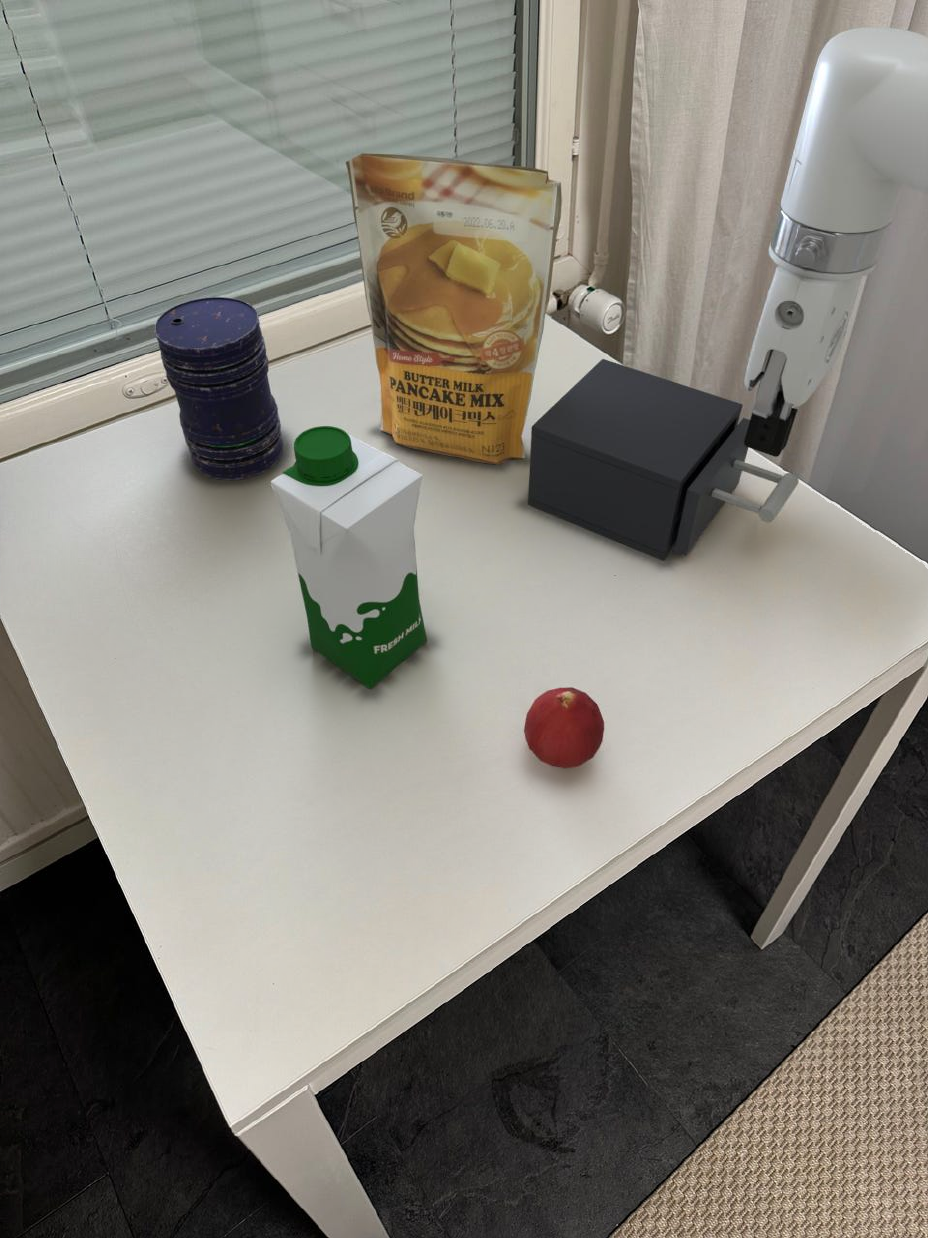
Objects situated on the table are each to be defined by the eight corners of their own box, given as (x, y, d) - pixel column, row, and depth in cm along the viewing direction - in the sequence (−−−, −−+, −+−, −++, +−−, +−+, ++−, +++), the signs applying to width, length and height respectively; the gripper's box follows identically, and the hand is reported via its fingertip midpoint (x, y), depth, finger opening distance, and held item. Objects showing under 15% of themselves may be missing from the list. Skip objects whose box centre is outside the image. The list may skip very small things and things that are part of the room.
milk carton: (368, 592, 80) (344, 402, 66) (443, 641, 76) (435, 449, 61) (295, 648, 76) (251, 458, 61) (371, 703, 72) (343, 513, 57)
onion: (544, 714, 71) (550, 648, 65) (611, 745, 69) (623, 679, 63) (509, 768, 67) (512, 703, 62) (578, 801, 65) (588, 738, 59)
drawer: (796, 505, 86) (818, 442, 81) (747, 582, 79) (767, 518, 74) (616, 439, 94) (624, 377, 88) (556, 504, 87) (561, 441, 81)
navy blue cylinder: (294, 427, 98) (271, 298, 87) (272, 483, 91) (244, 351, 80) (206, 422, 98) (172, 294, 87) (177, 477, 92) (137, 346, 81)
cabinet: (722, 482, 90) (742, 404, 83) (664, 561, 83) (680, 481, 76) (593, 435, 96) (602, 358, 89) (527, 504, 88) (531, 426, 81)
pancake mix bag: (384, 406, 100) (360, 138, 80) (547, 438, 96) (567, 163, 75) (360, 440, 96) (328, 166, 75) (530, 475, 91) (545, 194, 71)
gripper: (846, 293, 58) (774, 509, 71) (910, 211, 66) (834, 419, 80) (737, 263, 61) (687, 477, 74) (811, 188, 69) (755, 392, 83)
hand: (764, 446), depth 77 cm, fingers closed
